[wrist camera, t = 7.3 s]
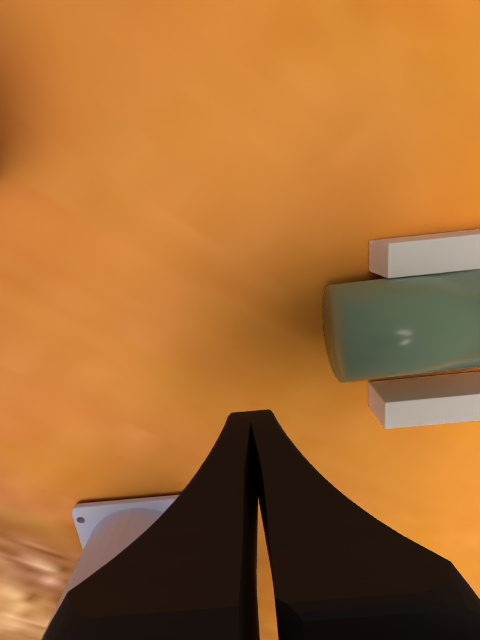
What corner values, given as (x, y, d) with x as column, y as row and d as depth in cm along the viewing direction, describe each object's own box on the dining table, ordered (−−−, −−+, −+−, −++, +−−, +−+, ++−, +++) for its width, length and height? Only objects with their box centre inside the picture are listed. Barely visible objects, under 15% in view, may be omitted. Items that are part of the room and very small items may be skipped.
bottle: (329, 375, 19) (536, 353, 19) (355, 390, 14) (634, 360, 14) (318, 291, 19) (523, 267, 19) (340, 277, 14) (615, 245, 14)
